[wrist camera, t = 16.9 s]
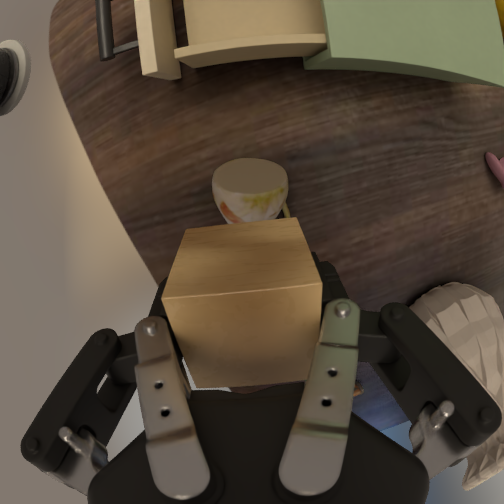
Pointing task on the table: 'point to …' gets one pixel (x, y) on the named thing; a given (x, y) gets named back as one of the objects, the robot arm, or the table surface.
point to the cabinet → (414, 39)
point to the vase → (472, 357)
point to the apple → (500, 14)
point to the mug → (250, 190)
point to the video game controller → (496, 166)
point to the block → (245, 303)
